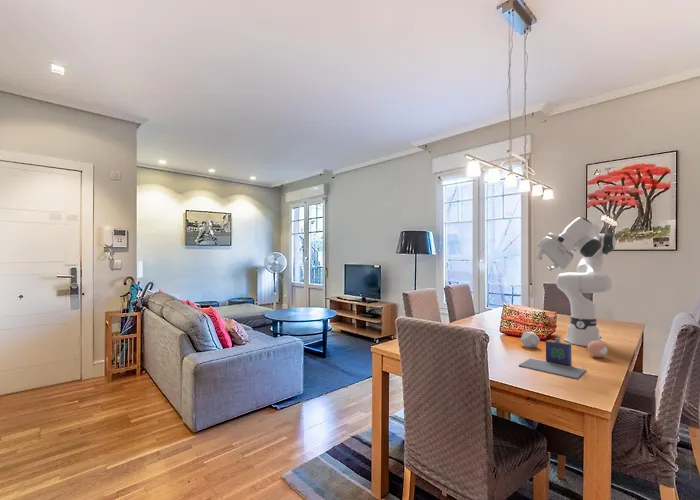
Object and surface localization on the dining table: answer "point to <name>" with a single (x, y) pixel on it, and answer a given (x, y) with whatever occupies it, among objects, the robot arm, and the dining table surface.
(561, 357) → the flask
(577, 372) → the mat
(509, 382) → the dining table surface
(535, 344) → the die
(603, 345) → the toy ball
